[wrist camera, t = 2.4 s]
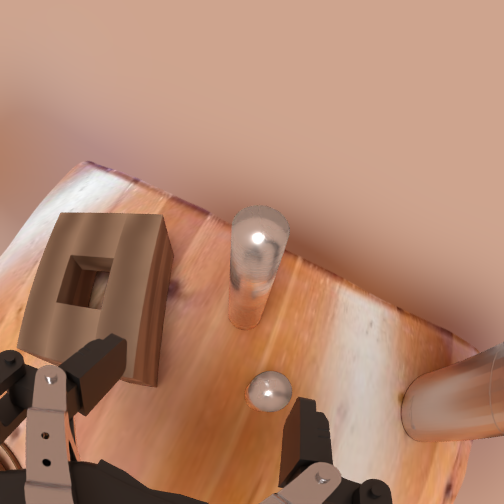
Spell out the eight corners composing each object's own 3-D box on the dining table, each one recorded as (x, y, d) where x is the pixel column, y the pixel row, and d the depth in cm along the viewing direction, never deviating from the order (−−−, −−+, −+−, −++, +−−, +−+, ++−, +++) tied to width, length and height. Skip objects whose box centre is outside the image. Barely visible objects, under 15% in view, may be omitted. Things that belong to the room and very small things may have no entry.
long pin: (260, 300, 32) (287, 207, 19) (260, 330, 30) (291, 253, 17) (229, 298, 32) (233, 203, 18) (227, 329, 30) (230, 249, 16)
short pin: (279, 378, 27) (291, 370, 22) (279, 411, 26) (292, 411, 20) (245, 378, 27) (249, 370, 22) (244, 411, 25) (248, 411, 20)
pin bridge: (173, 255, 34) (162, 214, 27) (156, 387, 26) (132, 378, 19) (84, 249, 33) (60, 212, 27) (56, 365, 25) (16, 347, 18)
